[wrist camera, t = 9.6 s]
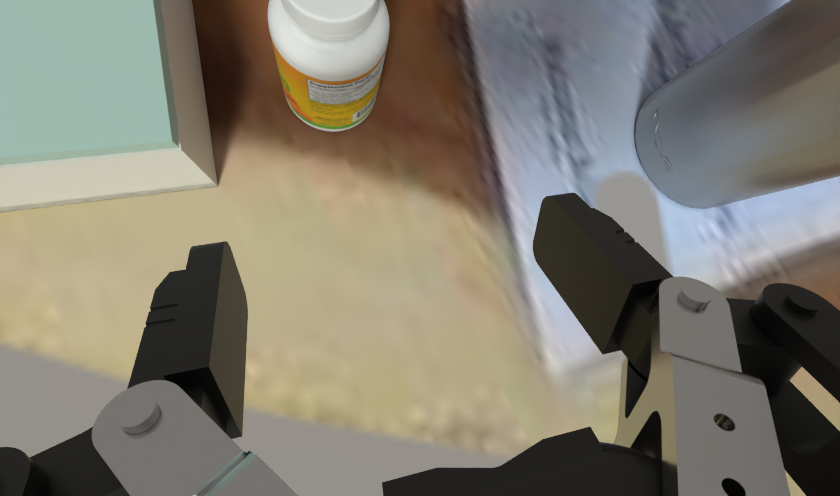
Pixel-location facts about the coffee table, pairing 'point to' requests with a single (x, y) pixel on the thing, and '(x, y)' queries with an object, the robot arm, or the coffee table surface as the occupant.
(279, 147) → the coffee table surface
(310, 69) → the supplement bottle
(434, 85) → the coffee table surface
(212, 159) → the storage box
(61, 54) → the lid
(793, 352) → the robot arm
